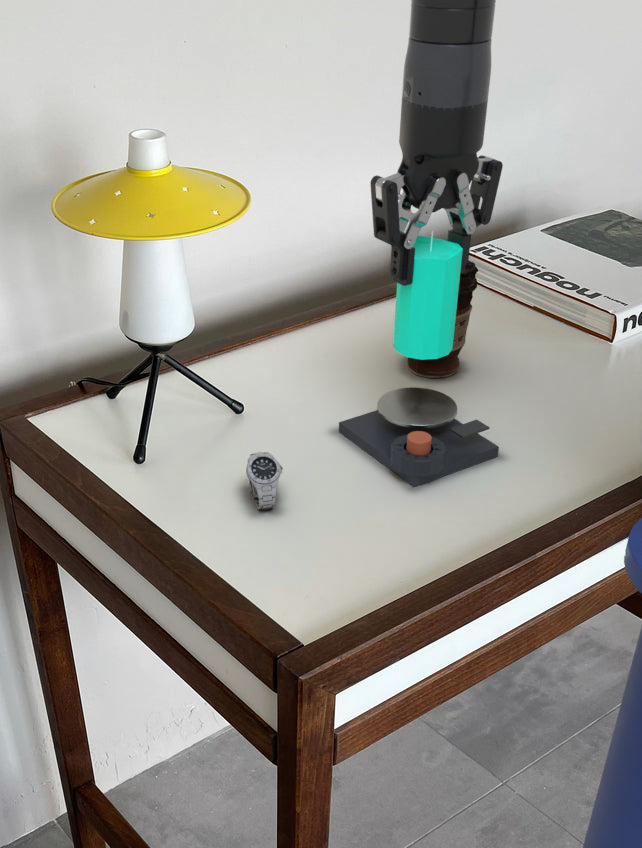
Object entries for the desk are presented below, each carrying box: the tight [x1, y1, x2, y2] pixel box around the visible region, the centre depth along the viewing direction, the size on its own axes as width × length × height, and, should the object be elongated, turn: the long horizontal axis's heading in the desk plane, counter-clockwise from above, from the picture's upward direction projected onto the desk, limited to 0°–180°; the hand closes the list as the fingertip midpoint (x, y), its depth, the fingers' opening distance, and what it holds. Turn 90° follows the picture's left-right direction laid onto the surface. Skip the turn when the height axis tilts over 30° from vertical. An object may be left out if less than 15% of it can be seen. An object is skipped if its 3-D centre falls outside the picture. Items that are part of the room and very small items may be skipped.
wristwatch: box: [245, 451, 284, 511], centre depth 97 cm, size 4×6×5 cm, turn 12°
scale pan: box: [376, 387, 491, 438], centre depth 106 cm, size 12×8×1 cm
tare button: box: [406, 431, 432, 455], centre depth 100 cm, size 2×2×2 cm
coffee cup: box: [406, 260, 479, 378], centre depth 118 cm, size 9×8×13 cm
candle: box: [392, 230, 463, 360], centre depth 99 cm, size 6×6×12 cm
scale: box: [338, 409, 500, 488], centre depth 106 cm, size 14×12×3 cm
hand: (429, 275), depth 99 cm, fingers closed on candle, 6 cm apart
